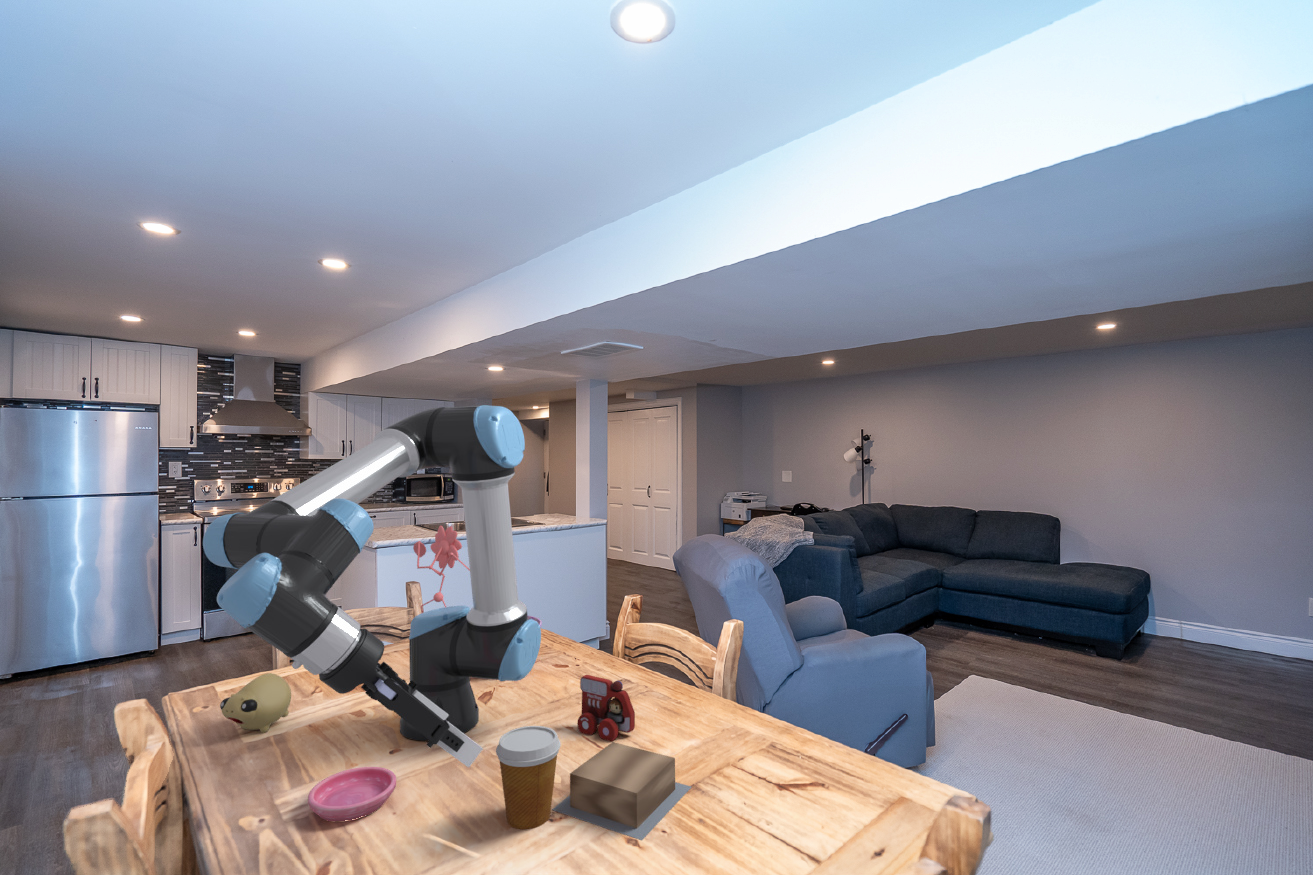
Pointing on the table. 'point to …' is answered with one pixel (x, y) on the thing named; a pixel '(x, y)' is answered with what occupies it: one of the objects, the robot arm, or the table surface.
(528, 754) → the disposable coffee cup
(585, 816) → the mat
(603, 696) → the toy fire truck
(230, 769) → the table surface
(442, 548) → the figurine
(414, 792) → the table surface
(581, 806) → the pedestal
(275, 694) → the green toy animal
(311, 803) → the saucer
